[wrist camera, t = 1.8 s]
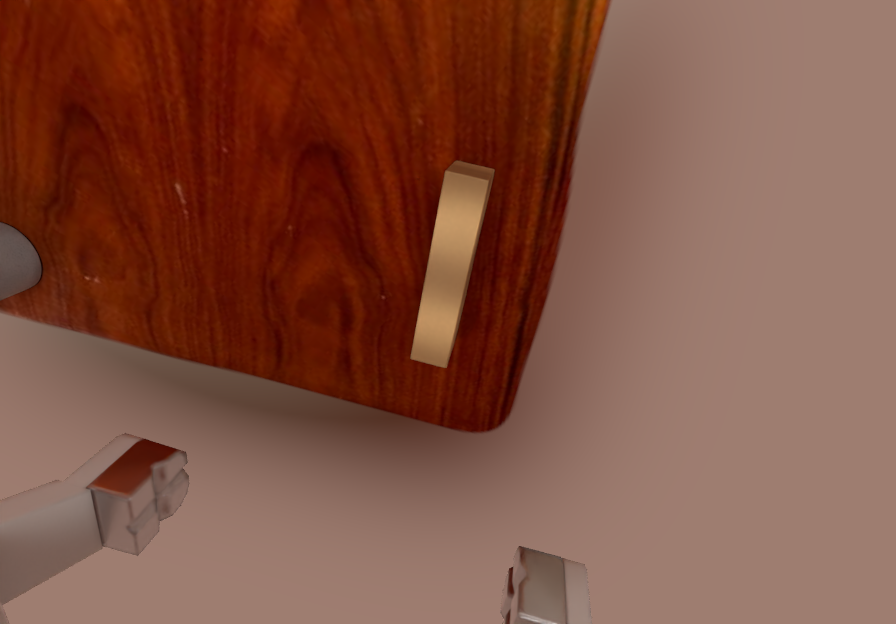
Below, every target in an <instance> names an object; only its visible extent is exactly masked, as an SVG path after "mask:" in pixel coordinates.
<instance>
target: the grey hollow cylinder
mask: <svg viewBox="0 0 896 624" xmlns="http://www.w3.org/2000/svg"><path fill="white" fill-rule="evenodd" d="M41 272H42V268H41V262H40V259H39V256H38V254H37V252H36V250H35V249H34V247H33V246H32V244H31V243H30V242H29V241H28V239H27V238H26V237H25V236H24V235H23V234H21V233H20V232H19V231H18V230H16V229H15V228H13V227H11V226H9V225H7V224H4V223H1V222H0V300H2V299H5V298H7V297H10V296H12V295H15V294H17V293H19V292H22V291H24V290H26V289H28V288H31V287H33V286H34V285H36V284H37V283H38V281H39V280H40V277H41Z"/></svg>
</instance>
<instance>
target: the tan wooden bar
mask: <svg viewBox="0 0 896 624" xmlns="http://www.w3.org/2000/svg"><path fill="white" fill-rule="evenodd" d="M494 172H495V170H494V169H491V168H487V167H482V166H478V165H474V164H469V163H465V162H461V161H455V162H454V163H453V164H452V165H451V166H450V167H449V168H448V169H447V170H446V171H445V174H444V179H443V185H442V190H441V195H440V201H439V206H438V211H437V217H436V222H435V228H434V233H433V238H432V244H431V249H430V254H429V260H428V265H427V271H426V276H425V281H424V287H423V292H422V297H421V303H420V308H419V314H418V319H417V324H416V330H415V335H414V340H413V346H412V351H411V357H410V358H411V359H413V360H416V361H420V362H424V363H428V364H432V365H435V366H439V367H443V368H446V367H447V365H448V362H449V359H450V355H451V352H452V349H453V346H454V343H455V340H456V335H457V331H458V327H459V322H460V318H461V314H462V309H463V305H464V301H465V297H466V292H467V288H468V284H469V279H470V275H471V271H472V266H473V262H474V258H475V254H476V249H477V245H478V241H479V236H480V232H481V228H482V223H483V219H484V215H485V210H486V206H487V202H488V198H489V193H490V189H491V185H492V180H493V176H494Z"/></svg>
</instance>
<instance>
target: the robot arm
mask: <svg viewBox="0 0 896 624" xmlns="http://www.w3.org/2000/svg"><path fill="white" fill-rule="evenodd" d="M186 464H187V454H186V452H184V451H181V450H178V449H175V448H172V447H169V446H165V445H162V444H159V443H156V442H153V441H149V440H146V439H143V438H140V437H136V436H133V435H129V434H126V433H125V434H122V435H120V436H117V437H116V438H115V439H113V440H112V441H111V442H110V443H109V444H107V445H106V446H105V447H104V448H102V449H101V450H100V451H99V452H98V453H97V454H95V455H94V456H93V457H92V458H90V459H89V460H88V461H87V462H86V463H85V464H83V465H82V466H81V467H80V468H78V469H77V470H76V471H75V472H74V473H72V474H71V475H70V476H69V477H68V478H66V479H65V480H64V481H59V480H55V481H52V482H50V483H47V484H44V485H41V486H38V487H36V488H33V489H30V490H28V491H24V492H22V493H19V494H16V495H13V496H11V497H8V498H5V499H2V500H0V624H9V622H8V619H7V616H6V614H5V611H4V609H3V606H2V605H3V604H5V603H7V602H9V601H10V600H12V599H14V598H16V597H18V596H19V595H21V594H23V593H24V592H26V591H28V590H30V589H32V588H33V587H35V586H37V585H39V584H40V583H42V582H44V581H46V580H48V579H49V578H51V577H53V576H55V575H56V574H58V573H60V572H62V571H64V570H65V569H67V568H69V567H71V566H72V565H74V564H76V563H78V562H80V561H81V560H83V559H85V558H87V557H88V556H90V555H92V554H94V553H95V552H97V551H99V550H101V549H102V546H104V547H108V548H112V549H115V550H119V551H122V552H126V553H130V554H133V555H137V556H138V555H139V554H140V553H141V552H142V551H143V549H144V548H145V547H146V546H147V545H148V544H149V542H150V541H151V540H152V539H153V538H154V537H155V535H156V534H157V533H158V532H159V525H160V521H161V520H164V519H166V518H168V517H170V516H172V515H173V514H174V513H175V512H176V511H177V509H178V508H179V507H180V506H181V504H182V502H183V500H184V498H185V496H186V494H187V491H188V487H189V476H188V474H187V473H186V472H185V470H184V469H183V467H184V466H185V465H186ZM587 579H588V578H587V569H586V567H585V565H584V564H581V563H578V562H574V561H571V560H567V559H564V558H561V557H558V556H555V555H551V554H547V553H544V552H540V551H536V550H533V549H529V548H525V547H521V546H519V547H518V548H517V550H516V553H515V555H514V564H513V567H512V568H509V571H508V574H507V576H506V580H505V585H504V589H503V595H502V602H501V614H502V616H503V618H504V621H503V624H592V620H591V610H590V601H589V600H590V599H589V589H588V580H587Z"/></svg>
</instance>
